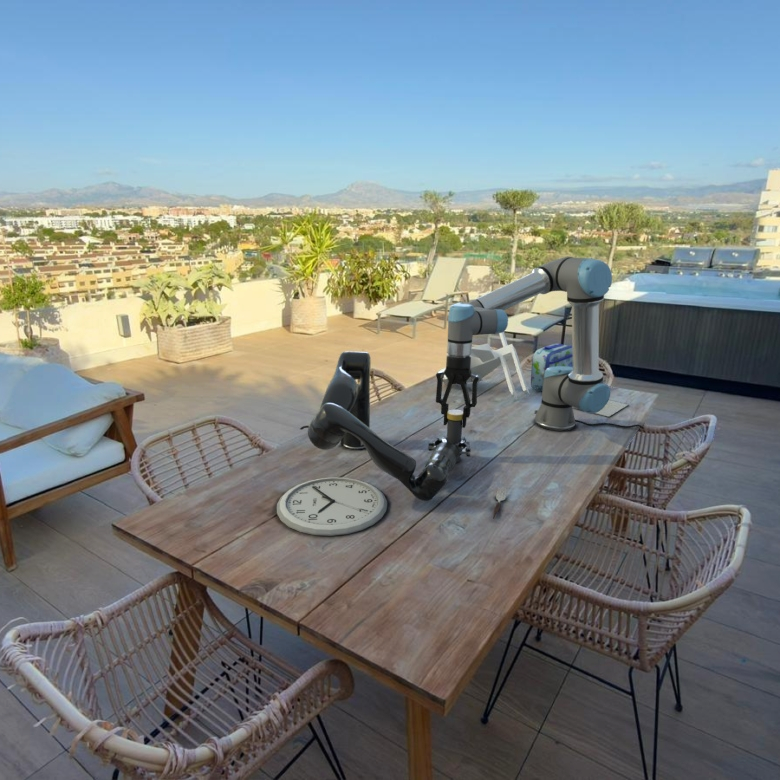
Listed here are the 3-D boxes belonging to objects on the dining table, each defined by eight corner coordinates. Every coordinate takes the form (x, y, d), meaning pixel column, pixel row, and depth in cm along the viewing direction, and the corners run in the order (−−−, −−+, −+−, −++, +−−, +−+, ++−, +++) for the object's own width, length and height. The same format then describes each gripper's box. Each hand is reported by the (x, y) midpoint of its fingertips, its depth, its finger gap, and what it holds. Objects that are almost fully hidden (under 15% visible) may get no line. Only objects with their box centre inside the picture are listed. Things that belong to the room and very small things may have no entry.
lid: (452, 413, 171) (452, 408, 171) (466, 417, 168) (467, 412, 167) (443, 418, 167) (443, 412, 167) (457, 422, 164) (458, 416, 163)
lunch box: (547, 395, 239) (552, 351, 233) (526, 390, 247) (530, 347, 240) (574, 384, 257) (579, 343, 251) (554, 380, 264) (558, 339, 258)
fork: (488, 519, 137) (488, 512, 136) (497, 492, 151) (498, 485, 151) (498, 521, 136) (498, 514, 135) (507, 493, 150) (507, 487, 150)
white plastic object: (461, 429, 252) (437, 405, 227) (444, 352, 274) (420, 323, 250) (535, 404, 240) (518, 377, 215) (510, 326, 262) (492, 293, 237)
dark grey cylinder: (462, 461, 171) (465, 415, 166) (450, 464, 169) (453, 417, 164) (454, 455, 175) (457, 411, 170) (442, 458, 173) (445, 413, 168)
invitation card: (608, 416, 214) (573, 407, 224) (608, 416, 214) (573, 408, 224) (628, 404, 229) (594, 396, 238) (628, 405, 229) (594, 397, 238)
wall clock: (392, 527, 129) (268, 531, 127) (391, 533, 130) (269, 537, 127) (383, 473, 158) (282, 475, 155) (383, 478, 158) (282, 480, 156)
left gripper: (420, 466, 161) (434, 445, 176) (466, 473, 156) (476, 452, 171) (421, 443, 158) (435, 424, 174) (467, 450, 154) (478, 430, 169)
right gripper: (490, 354, 162) (485, 424, 169) (432, 349, 168) (429, 417, 175) (486, 360, 155) (481, 433, 162) (426, 354, 161) (424, 425, 168)
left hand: (455, 438), depth 172 cm, fingers closed on dark grey cylinder, 4 cm apart
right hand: (454, 424), depth 168 cm, fingers closed on lid, 5 cm apart
